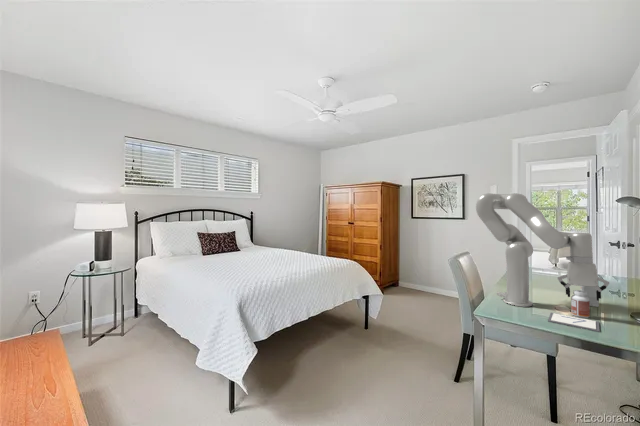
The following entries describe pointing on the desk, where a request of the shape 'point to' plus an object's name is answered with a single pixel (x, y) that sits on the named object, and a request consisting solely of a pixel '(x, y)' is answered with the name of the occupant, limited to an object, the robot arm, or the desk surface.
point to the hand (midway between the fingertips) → (583, 298)
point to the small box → (591, 295)
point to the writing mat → (574, 322)
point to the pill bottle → (580, 304)
